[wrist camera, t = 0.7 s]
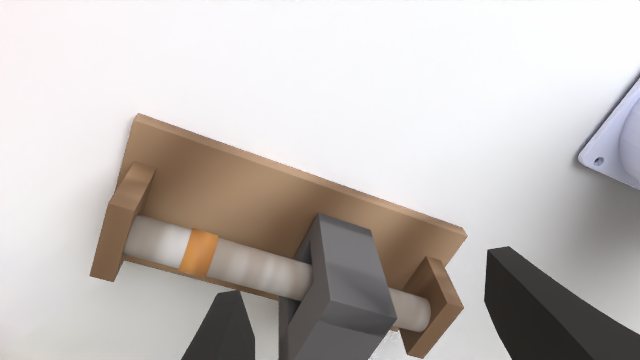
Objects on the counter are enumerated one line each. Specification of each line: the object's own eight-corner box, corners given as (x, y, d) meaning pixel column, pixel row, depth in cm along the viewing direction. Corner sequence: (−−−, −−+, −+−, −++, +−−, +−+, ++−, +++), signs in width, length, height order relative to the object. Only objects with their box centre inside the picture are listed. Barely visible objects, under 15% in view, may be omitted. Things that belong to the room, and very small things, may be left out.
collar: (370, 229, 23) (397, 318, 18) (327, 300, 25) (339, 397, 20) (318, 212, 22) (330, 300, 17) (278, 287, 24) (278, 385, 19)
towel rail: (462, 227, 25) (495, 282, 21) (394, 321, 28) (412, 383, 24) (138, 113, 20) (105, 156, 16) (103, 243, 23) (69, 305, 19)
